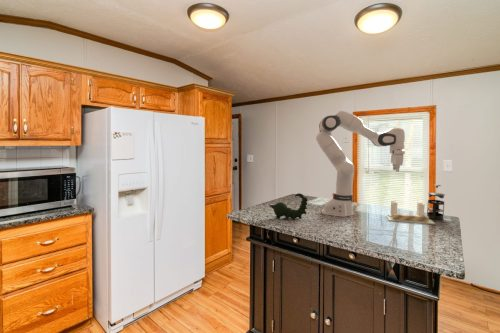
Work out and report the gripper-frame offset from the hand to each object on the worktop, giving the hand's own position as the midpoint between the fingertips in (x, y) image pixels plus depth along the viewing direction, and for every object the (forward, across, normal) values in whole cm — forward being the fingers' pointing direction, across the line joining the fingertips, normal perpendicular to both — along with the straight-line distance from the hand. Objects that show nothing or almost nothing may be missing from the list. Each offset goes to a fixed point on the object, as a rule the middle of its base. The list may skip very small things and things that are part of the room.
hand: (395, 170), depth 186 cm
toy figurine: (+31, +32, -70) cm, 83 cm away
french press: (+31, +4, +24) cm, 40 cm away
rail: (+30, +14, +7) cm, 34 cm away
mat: (+31, +14, +7) cm, 35 cm away
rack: (+31, +5, +7) cm, 32 cm away
